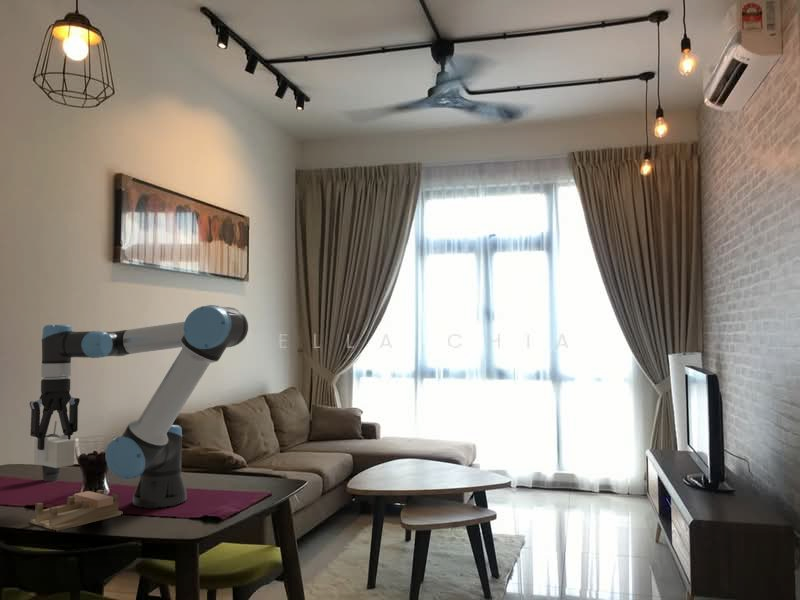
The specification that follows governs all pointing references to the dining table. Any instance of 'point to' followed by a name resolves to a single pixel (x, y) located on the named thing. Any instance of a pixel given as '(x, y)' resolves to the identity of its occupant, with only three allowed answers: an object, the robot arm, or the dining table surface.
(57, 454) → the white rectangular block
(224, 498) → the dining table surface
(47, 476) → the beverage cup
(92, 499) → the terracotta strip
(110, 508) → the oak rack
